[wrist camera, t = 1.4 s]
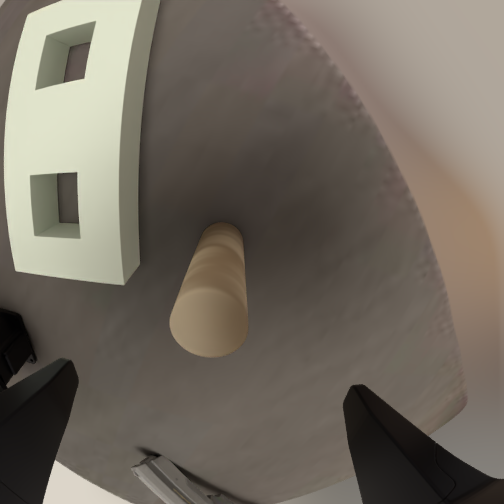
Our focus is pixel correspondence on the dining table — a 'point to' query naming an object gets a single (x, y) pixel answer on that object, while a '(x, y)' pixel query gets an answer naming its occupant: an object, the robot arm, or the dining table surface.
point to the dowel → (213, 295)
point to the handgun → (172, 483)
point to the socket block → (78, 139)
